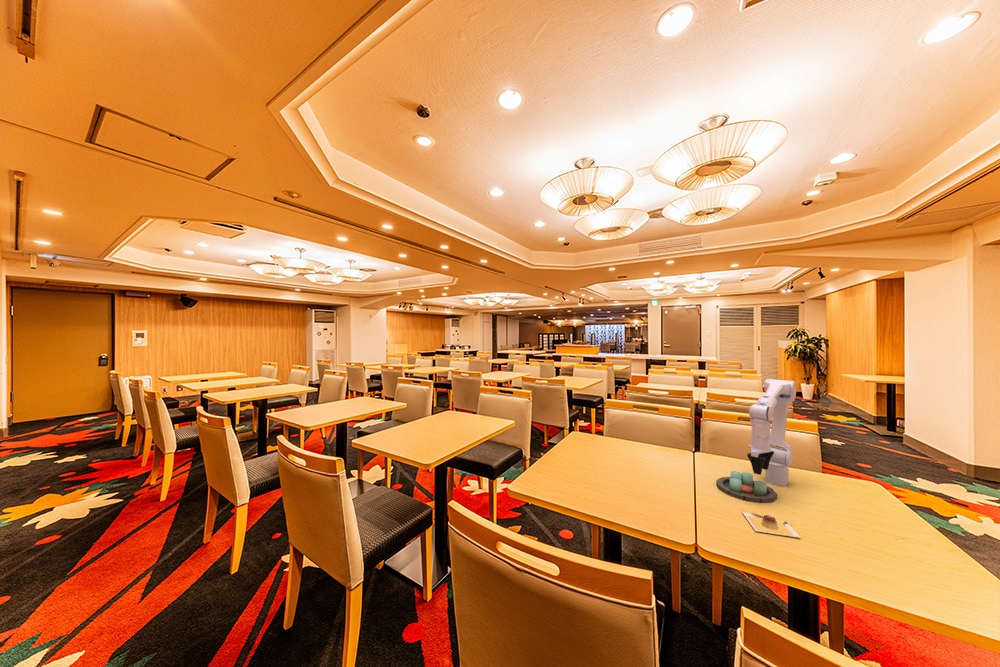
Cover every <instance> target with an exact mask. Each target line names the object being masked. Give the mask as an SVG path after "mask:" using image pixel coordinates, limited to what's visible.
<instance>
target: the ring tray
mask: <svg viewBox="0 0 1000 667" xmlns="http://www.w3.org/2000/svg"><path fill="white" fill-rule="evenodd" d="M730 478H731V476H723V477H719V478H718V479H716V483H715V485H716V488H717V489H718V490H719V491H721V492H722V493H724V494H725V495H727V496H730V497H732V498H736V499H738V500H741V501H745V502H751V503H756V504H768V503H774V502H775V501H776V500H777V499H778V493H777V492H776V491H775V490H774V489H773V488H772V487H770V486H768V485H767V496H755V495H754V481H755V480H753V488H752V487H750V486H748V485H744V484H741V493H738V492H735V491H732V490H730Z"/></svg>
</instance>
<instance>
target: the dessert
mask: <svg viewBox="0 0 1000 667" xmlns="http://www.w3.org/2000/svg"><path fill="white" fill-rule="evenodd" d="M742 515H744V517H745V518H746V520H747V522H748V523H749V524H750V525H751V527H752V528H753V530H754V531H755V532H757V533H764V534H770V535H776V536H777V535H778V536H783V537H790V538H796V539H797V538H799V539H800V538H801V536H800V535H799V534H798V533H797V531H796V530H795V529H794V528H793V527H792V525H790V524H789V523H788V521H784V522H783V523H782V524H783V526H784V527H785V528H786V529H787V531H789V533H790V534H791V535H789V534H784V533H783V534H782V533H776V532H769V531H763V530H758V528H757V526H755V524H754V523H753V522H752V520H751V519H750V517H752V518H758V519H759V518H760V519H762V520H761V522H760V524H761V526H762V527H764V528H766V529H769V530H775V531H777V530H778V529H779V526H778V523H777V521H776V520H777V519H776V518H775V516H774V514H773V513H771V512H769V514H764V515H760V514H757V513H749V512H744V511H742Z"/></svg>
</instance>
